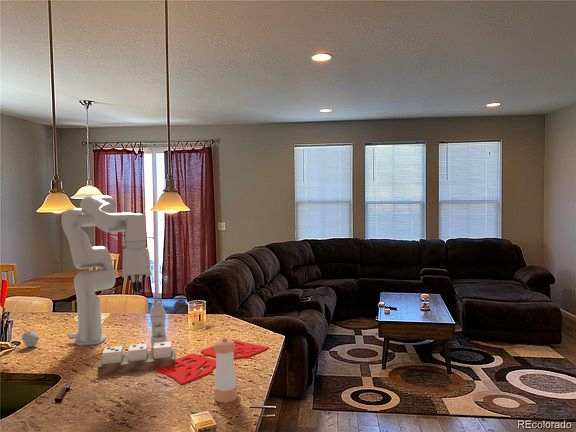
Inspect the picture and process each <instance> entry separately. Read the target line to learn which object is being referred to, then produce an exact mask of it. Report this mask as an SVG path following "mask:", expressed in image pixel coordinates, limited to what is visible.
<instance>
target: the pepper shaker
mask: <svg viewBox="0 0 576 432" xmlns="http://www.w3.org/2000/svg"><path fill="white" fill-rule="evenodd" d="M232 340H233V339H230V338H226V337H223V338H221V339H219V340H216V341H215V343H214V344H213V346H214V347H213V348H214V351H215V352H216V358H215V360H216V367H215V373H214V387H213V399H214V401H216V402H218V403H222V404H225V403H231V402H234V401H235V400H237V398H238V386H237V374H236V373H237V372H236V369H235V361H234V354H233V351H234V350H235V348H236V345H235V344H236V343H234V341H232Z"/></svg>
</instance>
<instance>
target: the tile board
mask: <svg viewBox="0 0 576 432" xmlns="http://www.w3.org/2000/svg"><path fill="white" fill-rule="evenodd" d="M147 352H148V357H147V360H139V361H129V357H128V352H127V353H123V361H122V362H119V363H110V364H103V356H101V359H100V360H99V363H98V366H97V376H105V375H112V374H113V375H114V374H123V373H130V372H131V373H132V372H141V371H142V372H143V371H150V370H155V367H162V368H165V369H167V368H166V366H174V365H176V364H175V359H176V349H175V348H171V357H168V358H158V359H154V350H147Z"/></svg>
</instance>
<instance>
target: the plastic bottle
mask: <svg viewBox="0 0 576 432" xmlns="http://www.w3.org/2000/svg"><path fill="white" fill-rule="evenodd" d="M152 306H153V307H152V308H151V309H150V312H149V317H150V323H151V338H150V343H151V344H150V345H151V346H152V348H154V343H158V342H168V339H167V334H166V314H167V312H166V310H165V308H164V306H163V300H162V299H155V300H153V302H152Z"/></svg>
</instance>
